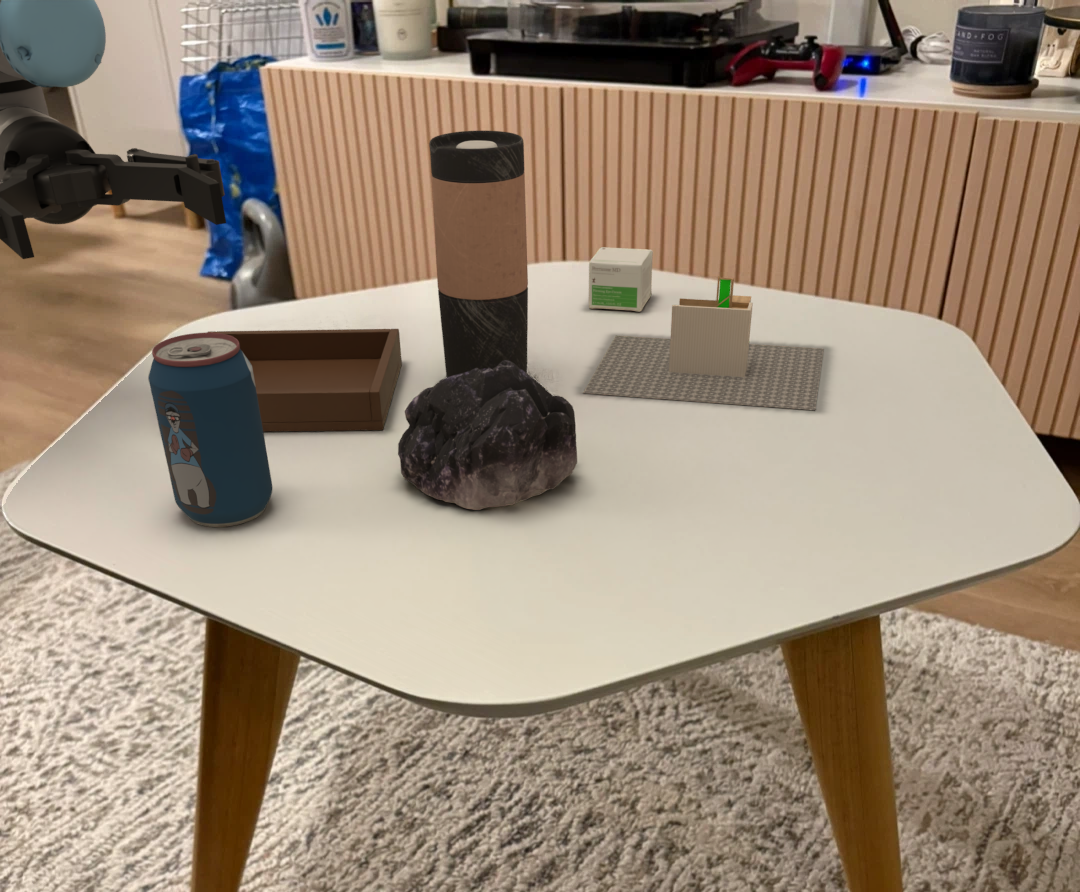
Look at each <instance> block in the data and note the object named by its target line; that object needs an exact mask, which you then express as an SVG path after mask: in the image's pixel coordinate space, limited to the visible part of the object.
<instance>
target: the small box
mask: <svg viewBox="0 0 1080 892" xmlns="http://www.w3.org/2000/svg"><path fill="white" fill-rule="evenodd" d="M653 255H654V251H653V250H652V249H645V248H627V247H625V248H624V247H609V246H601V247H599V249H598V250H597V252H595V254H594V255H593V257H592V258H590V260H589V263H588V308H589V309H593V310H595V309H601V310H602V309H603V310H616V311H617V310H619V311H633V312H640V313H641V312H642V310H643V309H644V307H645V306H646V304H647V302H648V301H649V300H650V298H651V296H652V290H653V289H652V286H653V285H652V281H653Z"/></svg>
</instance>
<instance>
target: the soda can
mask: <svg viewBox="0 0 1080 892" xmlns="http://www.w3.org/2000/svg"><path fill="white" fill-rule="evenodd" d="M207 332H208V333H207ZM207 332H195V333H187V334H182V335H177V336H173V337H169V338H167V339H164V340H162V341H160V342H158V343H157V344H156V345H155V346H153V347H152V350H151V355H152V358H153V359H152V362H151V365H150V369H149V372H148V383H149V387H150V392H151V396H152V397H151V398H152V401H153V407H154V410H155V415H156V419H157V424H158V429H159V433H160V438H161V444H162V447H163V452H164V456H165V462H166V465H167V469H168V470H167V471H168V475H169V479H170V484H171V488H172V493H173V497H174V501H175V503H176V505H177V506H178V507H179V509H180V510H181V512H183V513H184V515H186V516H187V517H188V518H189V519H190V520H191V521H192V522H193V523H195V524H197V525H200V526H204V527H209V528H210V527H212V528H224V527H226V528H227V527H232V526H238V525H241V524H245V523H247V522H251V521H253V520H255V519H257V518H258V517H260V515H263V513H264V511H265V510H266V508H267V505H268V503H269V501H270V499H271V496H272V493H273V481H272V475H271V469H270V463H269V458H268V451H267V446H266V439H265V434H264V433H265V432H263V427H262V421H261V415H260V410H259V404H258V398H257V392H256V386H255V380H254V374H253V368H252V365H251V363H250V362H249V360H248V359H247V358H246V356H245V355H244V353H243V352H242V351H241V349H240V344H239V341H238V340H237V339H236V338H234V337H232V336H230V335H226V334H221V333H210V331H207Z"/></svg>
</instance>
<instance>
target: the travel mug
mask: <svg viewBox="0 0 1080 892" xmlns="http://www.w3.org/2000/svg"><path fill="white" fill-rule="evenodd" d="M428 146H429V155H430V157H429V159H430V172H431V190H432V193H431V194H432V207H433V208H432V209H433V211H432V212H433V226H434V227H433V228H434V243H435V244H434V245H435V247H434V248H435V262H436V263H435V264H436V281H437V282H436V283H437V289H438V290H437V293H438V304H439V313H440V314H439V315H440V325H441V336H442V347H443V357H444V367H445V376H446V377H445V378H447V377H450V376H453V375H457V374H461V373H465V372H468V371H471V370H473V369H475V368H478V369H479V370H480V369H484V368H487V369H488V367H489V368H490V369H493V368H495V367H496V366H498V364H499V363H501V362H502V361H503V360H509V361H511V362H513V363H514V364H515V365H517V366H518V367H519V368H520V369H521V370H523V371H525V372H526V373H527V374H528V333H529V331H528V329H529V327H528V326H529V322H528V321H529V319H528V318H529V287H528V285H529V276H528V275H529V274H528V273H529V271H528V241H527V237H528V236H527V211H526V208H527V207H526V205H527V204H526V177H525V176H526V173H525V144H524V139H523V137H522V136H521V135H519V134H517V133H514V132H509V131H500V130H463V131H461V130H460V131H454V132H447V133H443V134H439V135H436V136H433V137H432V138H431V139H430V140H429V143H428Z"/></svg>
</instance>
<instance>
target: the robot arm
mask: <svg viewBox="0 0 1080 892" xmlns="http://www.w3.org/2000/svg"><path fill="white" fill-rule="evenodd" d="M106 34H107V33H106V26H105V22H104V17H103V15H102V12H101V10H100V8H99V6H98V3H97V2H96V1H95V0H0V240H1V241H2V242H3V243H4V244H5V245H6V247H8V248H9V249H11V250H12V251H13V252H14V253H15V254H17V255H18V256H19V257H20V258H21V259H22V260H26V259H33V258H35V254H34V250H33V247H32V243H31V239H30V235H29V232H28V228H27V225H26V224H27V223H26V221H25V220H26V219H34V220H36V221H39V222H42V223H45V224H48V225H49V224H50V225H66V224H71V223H74V222H76V221H78V220H80V219H81V218H83V217H85V216H86V215H87V214H88V213H89V212H90V211H91V210H92V209H93V208H94V207H96V206H100V205H101V206H116V207H117V206H121V205H123V204H125V203H127V202H129V201H130V200H133V201H134V200H135V201H153V202H173V203H183V204H184V208H185V209H187V210H188V211H190V212H193V213H194V214H196V215H198V216H200V217H201V218H203V219H205V220H207V221H209V222H210V223H212V224H214V225H216V226H218V225H224V224H227V219H226V214H225V208H224V201H223V197H224V196H225V195H226V193H225V187H224V183H223V176H222V172H221V165H220V161H219V160H217V159H214V158H201V157H200V158H199V156H198V154H196V153H192V154H190V155H187V156H184V155H175V154H165V153H157V152H150V151H147V150H144V149H140V148H137V147H135V148H134V147H132V148H130V149H128V150H127V151H126V159H127V161H124V160H123V158H122V157H121V156H120V155H118V154H114V153H113V154H112V153H96V152H95V151H94V149H93V148H92V146H91V145H90V144H89V142H88V141H87V140H86V139H85V138H84V137H83V136H82V135H81V134H80V133H78V132H77V131H76V130H74V129H73V128H71V127H70V126H67V125H66V124H64V123H62V122H61V121H59V120H58V119H56V118H53V117H51V116H50V114H49V109H48V106H47V102H46V98H45V94H44V90H43V88H54V87H57V88H70V87H74V86H78V85H80V84H82V83H84V82H86V81H87V80H88V79H90V78H91V77H92V76H93V75H94V74H95V72H96V71H97V69H98V68H99V66H100V65H101V64H102V59H103V57H104V53H105V50H106V45H107V44H106V42H107V39H106V37H107V35H106ZM110 191H111V193H108V192H110Z"/></svg>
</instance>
